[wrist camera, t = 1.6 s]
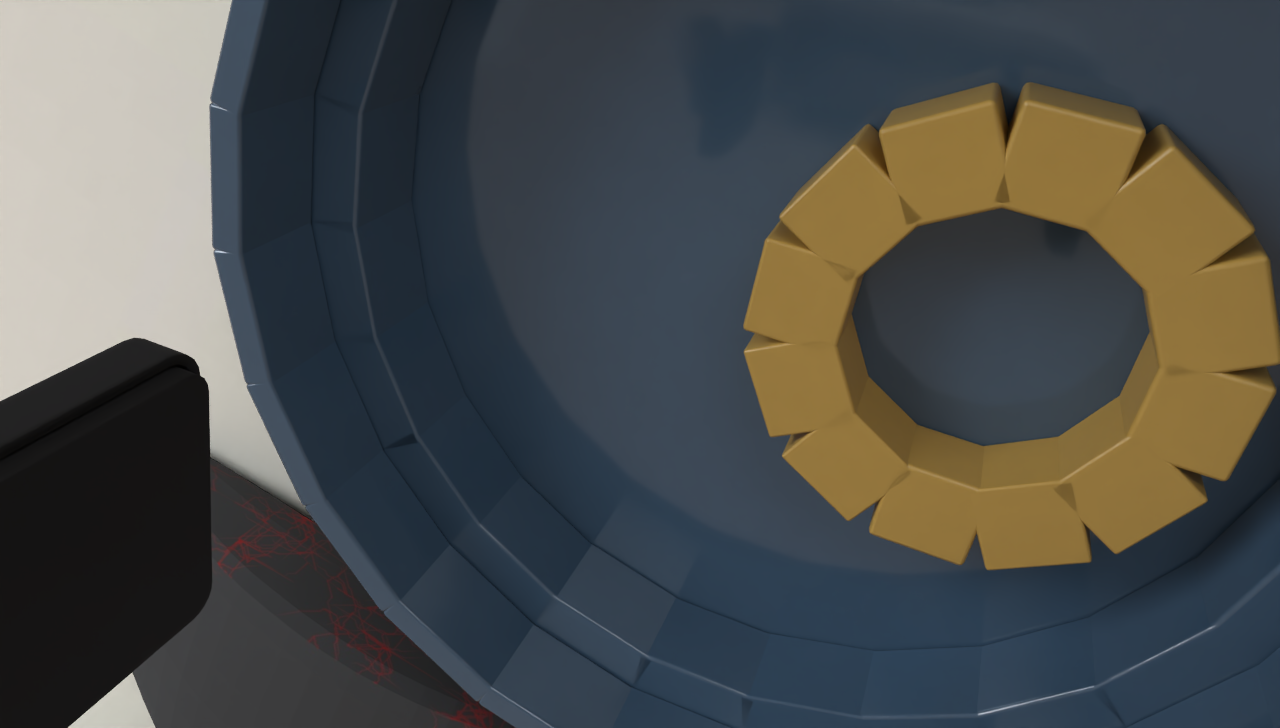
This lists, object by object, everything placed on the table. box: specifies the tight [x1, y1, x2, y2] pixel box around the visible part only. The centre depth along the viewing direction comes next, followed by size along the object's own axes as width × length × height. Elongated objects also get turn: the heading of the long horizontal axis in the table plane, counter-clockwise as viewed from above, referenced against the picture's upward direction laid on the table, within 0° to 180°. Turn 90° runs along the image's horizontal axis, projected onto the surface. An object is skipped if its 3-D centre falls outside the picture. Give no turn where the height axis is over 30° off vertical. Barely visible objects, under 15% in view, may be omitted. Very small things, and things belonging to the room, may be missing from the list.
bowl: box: [209, 0, 1280, 728], centre depth 17 cm, size 19×19×4 cm
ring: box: [743, 82, 1280, 570], centre depth 17 cm, size 8×8×2 cm
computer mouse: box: [133, 458, 515, 728], centre depth 25 cm, size 8×14×4 cm, turn 65°
